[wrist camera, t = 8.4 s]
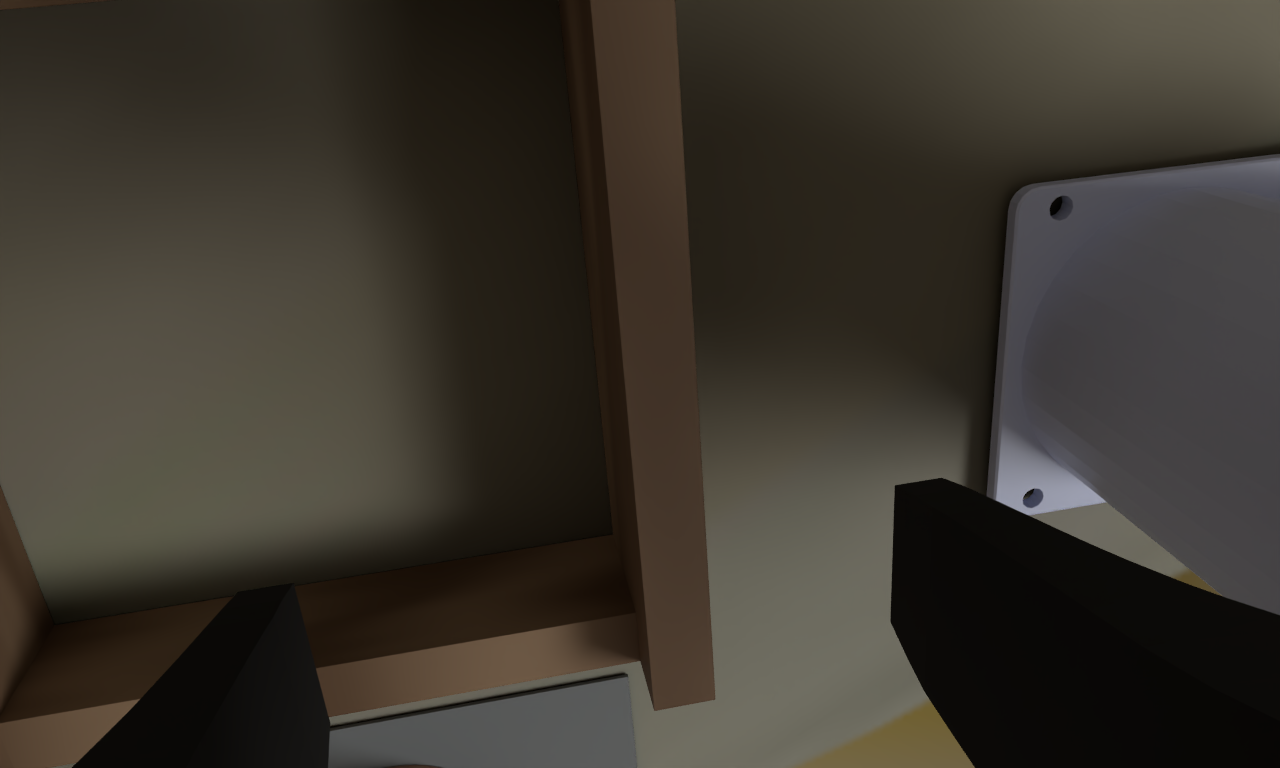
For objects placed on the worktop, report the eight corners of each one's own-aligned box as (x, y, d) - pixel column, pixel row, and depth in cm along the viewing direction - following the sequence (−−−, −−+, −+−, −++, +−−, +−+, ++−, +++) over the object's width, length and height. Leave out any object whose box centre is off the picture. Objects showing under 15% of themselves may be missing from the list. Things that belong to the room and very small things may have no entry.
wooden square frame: (614, -118, 17) (666, -145, 13) (667, 570, 23) (715, 699, 19) (-294, -52, 15) (-563, -58, 11) (13, 680, 21) (-93, 851, 17)
